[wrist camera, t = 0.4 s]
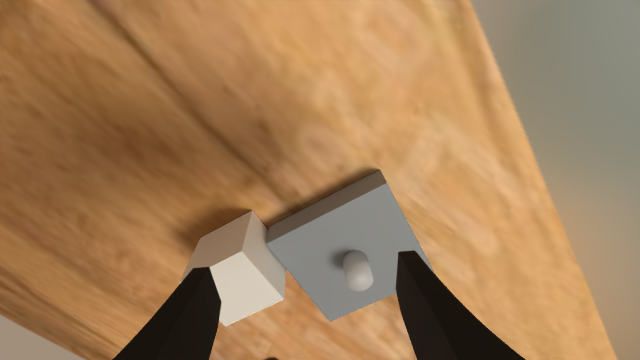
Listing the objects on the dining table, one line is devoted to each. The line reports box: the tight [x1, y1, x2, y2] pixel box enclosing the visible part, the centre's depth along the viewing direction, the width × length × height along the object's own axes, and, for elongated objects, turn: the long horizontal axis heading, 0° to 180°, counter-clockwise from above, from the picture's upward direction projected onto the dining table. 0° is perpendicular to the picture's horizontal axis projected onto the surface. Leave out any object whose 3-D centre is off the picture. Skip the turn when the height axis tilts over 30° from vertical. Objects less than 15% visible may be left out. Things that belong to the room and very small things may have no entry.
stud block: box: [266, 170, 435, 321], centre depth 22 cm, size 9×9×4 cm
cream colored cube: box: [179, 210, 286, 326], centre depth 22 cm, size 5×5×4 cm
